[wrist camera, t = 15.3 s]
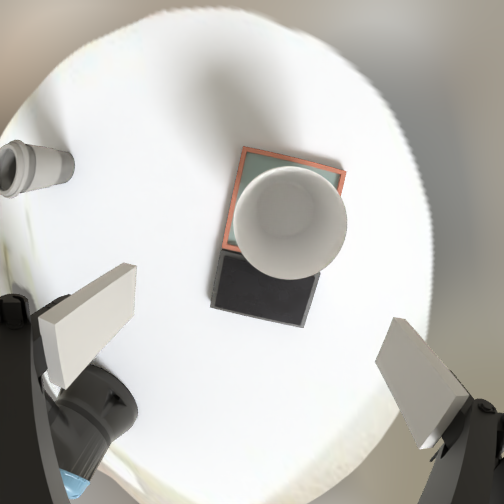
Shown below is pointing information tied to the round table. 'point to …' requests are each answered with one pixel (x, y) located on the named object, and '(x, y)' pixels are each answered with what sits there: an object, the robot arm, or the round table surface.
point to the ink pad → (260, 292)
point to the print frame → (262, 161)
